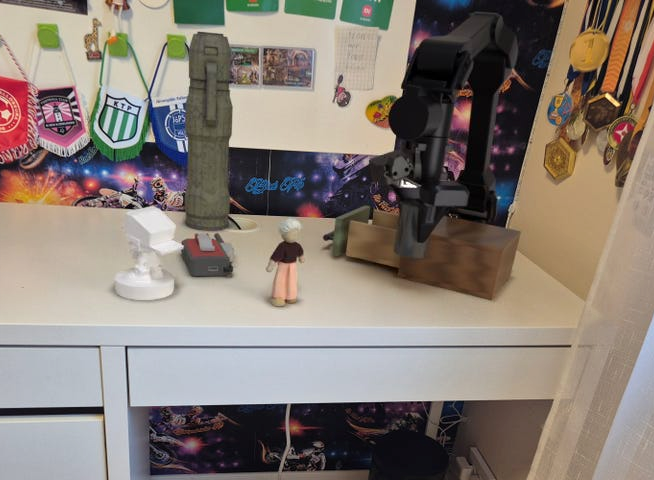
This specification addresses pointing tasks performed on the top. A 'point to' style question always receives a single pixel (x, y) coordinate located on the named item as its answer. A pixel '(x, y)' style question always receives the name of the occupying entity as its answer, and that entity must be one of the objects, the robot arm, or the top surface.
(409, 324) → the top surface
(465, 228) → the cabinet
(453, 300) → the top surface
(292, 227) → the grandmother figurine
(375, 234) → the drawer
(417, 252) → the cup
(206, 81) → the thermos
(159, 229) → the character figurine
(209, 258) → the walkie-talkie
